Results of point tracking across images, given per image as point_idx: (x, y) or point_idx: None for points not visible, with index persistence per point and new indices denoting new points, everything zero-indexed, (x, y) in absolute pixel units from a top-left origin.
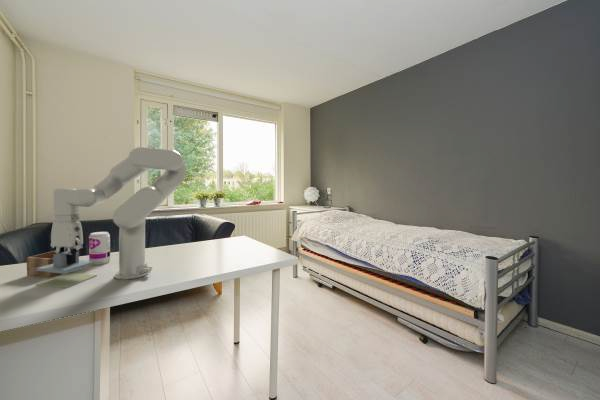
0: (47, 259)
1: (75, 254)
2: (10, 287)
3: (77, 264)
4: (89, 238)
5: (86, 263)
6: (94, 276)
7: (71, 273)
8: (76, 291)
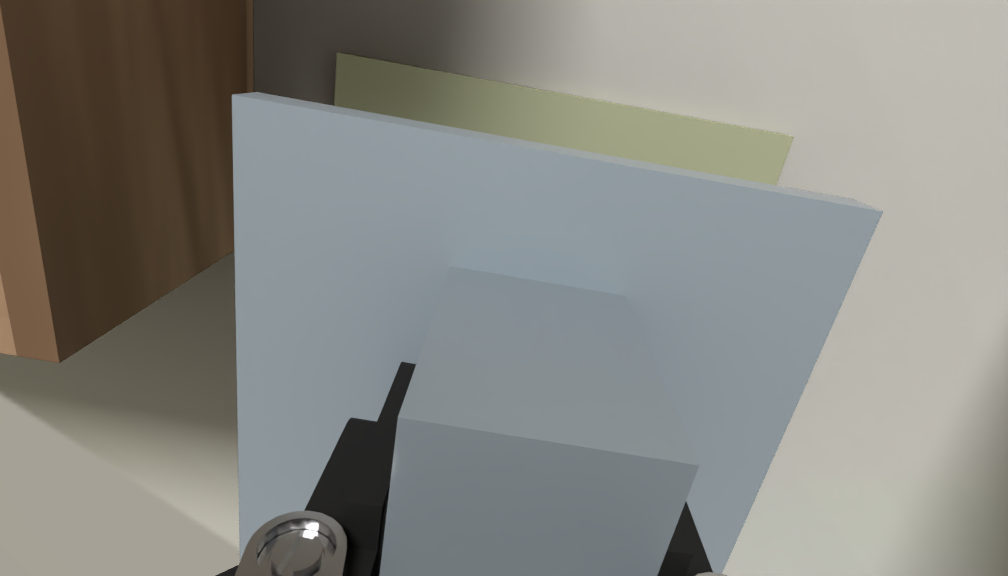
0: (14, 350)
1: (680, 529)
2: (154, 466)
3: (682, 403)
4: None
5: (808, 340)
6: (775, 172)
7: (386, 87)
8: (810, 542)
